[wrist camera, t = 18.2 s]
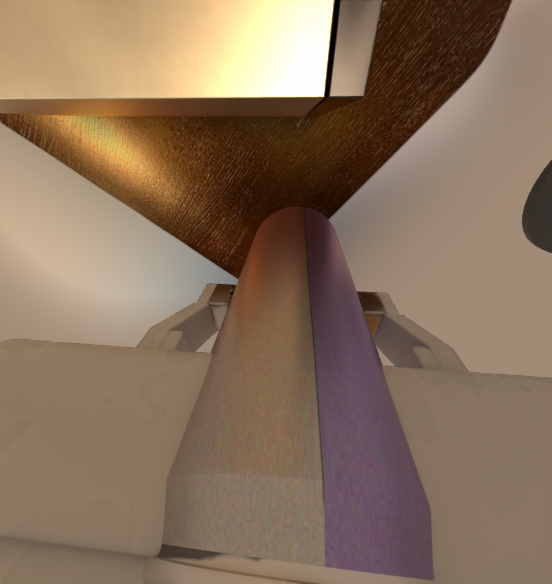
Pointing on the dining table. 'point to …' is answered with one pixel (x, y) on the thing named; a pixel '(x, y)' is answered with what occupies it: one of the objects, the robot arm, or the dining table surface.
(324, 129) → the dining table surface
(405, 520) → the beverage can
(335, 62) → the oven door
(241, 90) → the oven
